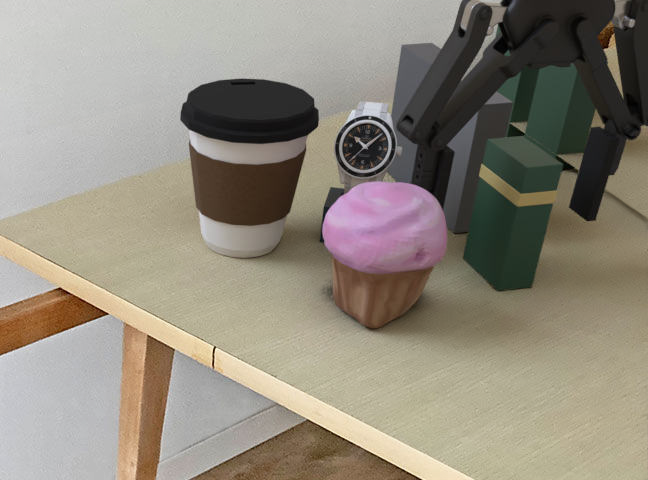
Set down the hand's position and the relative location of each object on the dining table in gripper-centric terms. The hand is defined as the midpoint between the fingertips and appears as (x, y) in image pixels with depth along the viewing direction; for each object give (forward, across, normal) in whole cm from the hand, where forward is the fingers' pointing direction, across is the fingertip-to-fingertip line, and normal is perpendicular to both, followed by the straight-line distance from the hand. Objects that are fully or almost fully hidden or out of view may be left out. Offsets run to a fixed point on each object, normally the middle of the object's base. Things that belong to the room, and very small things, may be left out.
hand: (504, 221), depth 85 cm
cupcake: (+5, +12, +4) cm, 14 cm away
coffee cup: (+5, +18, -10) cm, 21 cm away
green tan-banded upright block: (+4, 0, 0) cm, 4 cm away
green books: (+4, -18, -26) cm, 32 cm away
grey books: (+4, -2, -15) cm, 16 cm away
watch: (+5, +8, -9) cm, 13 cm away
